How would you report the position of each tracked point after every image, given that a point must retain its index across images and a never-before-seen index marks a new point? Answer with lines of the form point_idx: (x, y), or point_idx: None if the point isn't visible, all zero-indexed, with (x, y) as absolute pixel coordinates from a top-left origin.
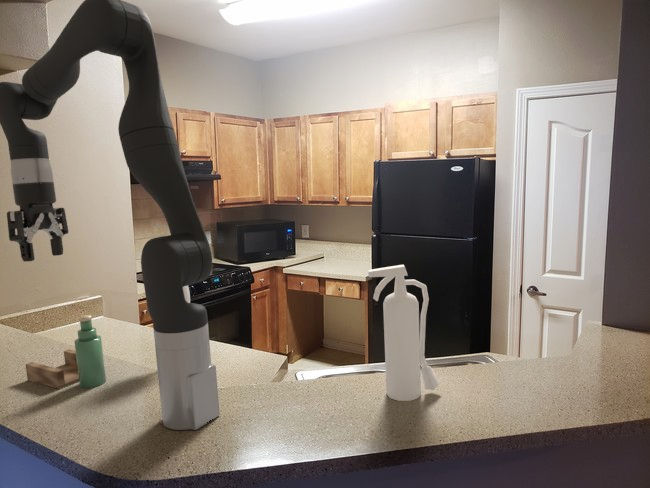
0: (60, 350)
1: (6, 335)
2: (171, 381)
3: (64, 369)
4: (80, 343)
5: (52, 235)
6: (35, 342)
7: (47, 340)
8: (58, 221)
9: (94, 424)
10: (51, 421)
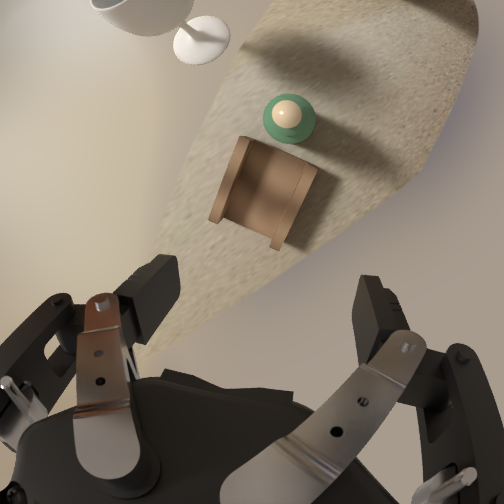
0: None
1: None
2: None
3: (246, 203)
4: (315, 119)
5: (128, 346)
6: None
7: None
8: (42, 373)
9: (414, 61)
10: (412, 118)
